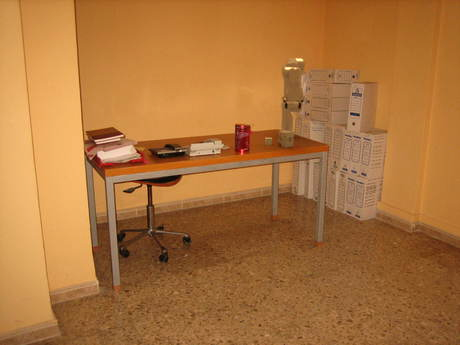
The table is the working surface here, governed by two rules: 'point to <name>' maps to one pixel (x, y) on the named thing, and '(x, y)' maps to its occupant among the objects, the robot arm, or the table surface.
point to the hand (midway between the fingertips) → (292, 108)
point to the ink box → (286, 138)
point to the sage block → (268, 141)
